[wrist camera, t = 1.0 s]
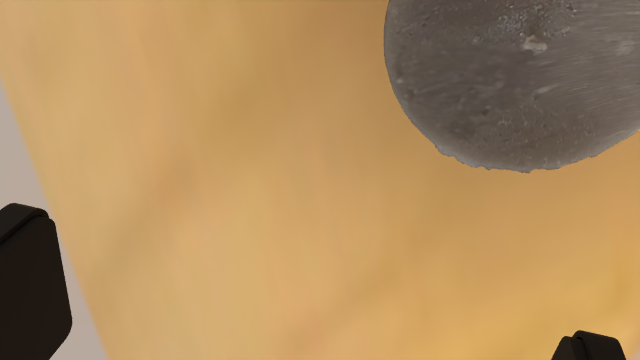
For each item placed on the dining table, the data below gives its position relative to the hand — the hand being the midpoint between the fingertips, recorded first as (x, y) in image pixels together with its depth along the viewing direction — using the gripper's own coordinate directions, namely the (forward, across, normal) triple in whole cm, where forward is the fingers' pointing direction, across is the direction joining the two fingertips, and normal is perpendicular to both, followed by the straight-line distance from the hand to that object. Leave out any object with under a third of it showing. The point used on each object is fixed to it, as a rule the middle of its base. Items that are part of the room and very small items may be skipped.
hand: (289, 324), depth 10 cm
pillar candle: (+25, -5, -3) cm, 25 cm away
